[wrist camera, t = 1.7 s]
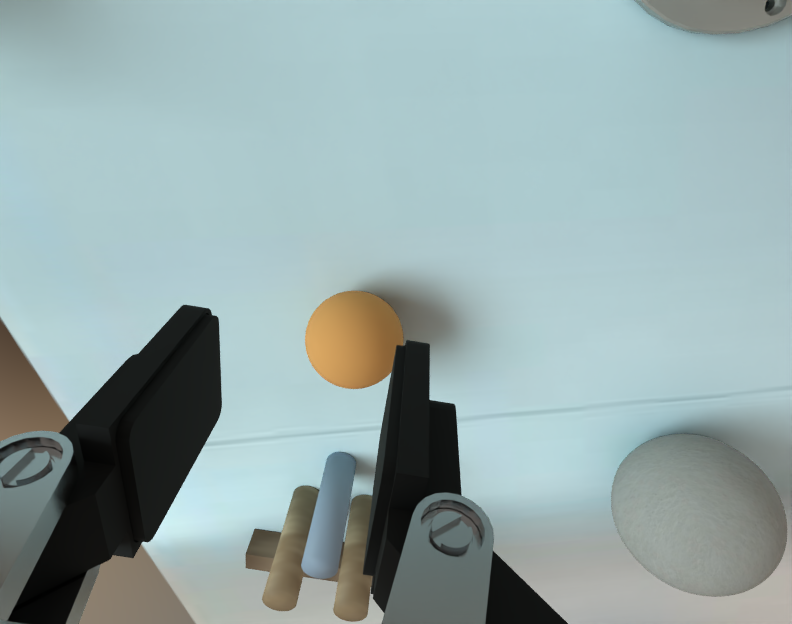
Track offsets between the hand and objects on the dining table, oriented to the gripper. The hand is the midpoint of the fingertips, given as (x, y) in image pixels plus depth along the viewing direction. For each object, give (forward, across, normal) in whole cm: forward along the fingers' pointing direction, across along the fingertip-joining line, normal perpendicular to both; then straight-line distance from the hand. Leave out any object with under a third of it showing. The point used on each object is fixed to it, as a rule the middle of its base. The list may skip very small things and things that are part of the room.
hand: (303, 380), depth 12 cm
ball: (+20, -24, +18) cm, 36 cm away
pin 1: (+19, +2, +28) cm, 34 cm away
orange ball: (+16, 0, +10) cm, 19 cm away
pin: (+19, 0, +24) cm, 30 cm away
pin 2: (+19, -2, +28) cm, 34 cm away
